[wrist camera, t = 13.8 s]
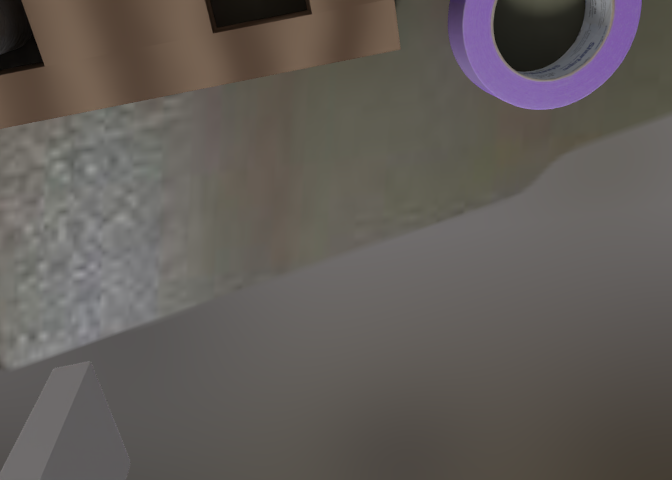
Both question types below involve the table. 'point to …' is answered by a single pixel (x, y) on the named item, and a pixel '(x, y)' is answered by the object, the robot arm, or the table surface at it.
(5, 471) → the robot arm
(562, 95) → the masking tape
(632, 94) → the table surface
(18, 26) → the steel pin
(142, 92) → the brown block with holes
